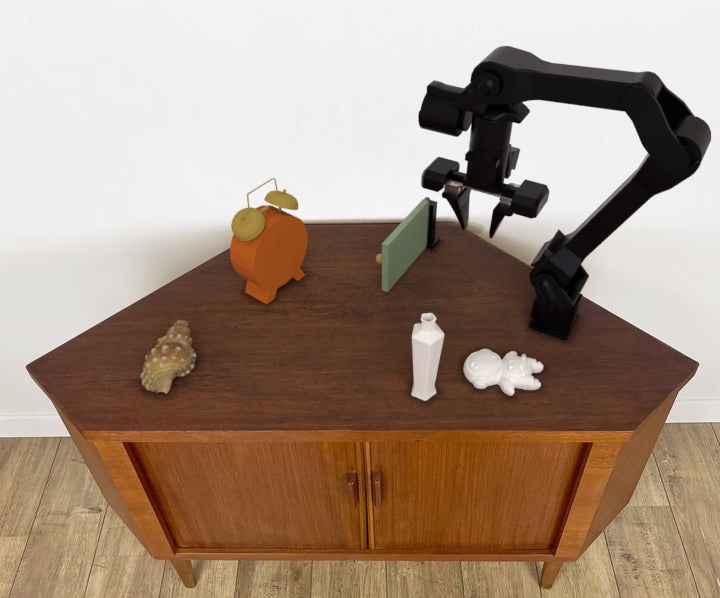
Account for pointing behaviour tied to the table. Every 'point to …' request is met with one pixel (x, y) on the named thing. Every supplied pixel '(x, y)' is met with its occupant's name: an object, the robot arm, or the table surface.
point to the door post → (432, 226)
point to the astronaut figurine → (502, 371)
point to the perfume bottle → (426, 356)
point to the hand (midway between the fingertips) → (478, 232)
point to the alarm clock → (268, 244)
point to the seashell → (169, 359)
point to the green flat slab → (404, 245)
